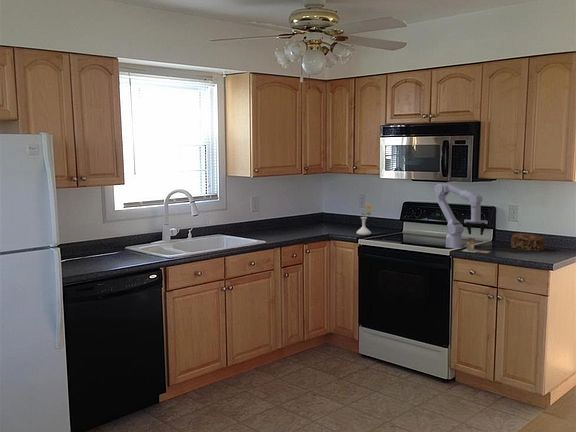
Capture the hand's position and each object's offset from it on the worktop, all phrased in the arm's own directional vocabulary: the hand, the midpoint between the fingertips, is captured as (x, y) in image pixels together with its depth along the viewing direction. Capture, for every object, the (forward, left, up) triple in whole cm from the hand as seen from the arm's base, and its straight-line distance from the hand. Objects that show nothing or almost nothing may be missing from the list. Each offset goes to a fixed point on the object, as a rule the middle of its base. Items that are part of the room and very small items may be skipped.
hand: (475, 234), depth 357 cm
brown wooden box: (-1, -6, -10) cm, 11 cm away
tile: (+7, -1, -10) cm, 13 cm away
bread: (+25, +26, -11) cm, 38 cm away
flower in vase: (-92, +19, -11) cm, 95 cm away
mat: (-1, -5, -10) cm, 12 cm away
